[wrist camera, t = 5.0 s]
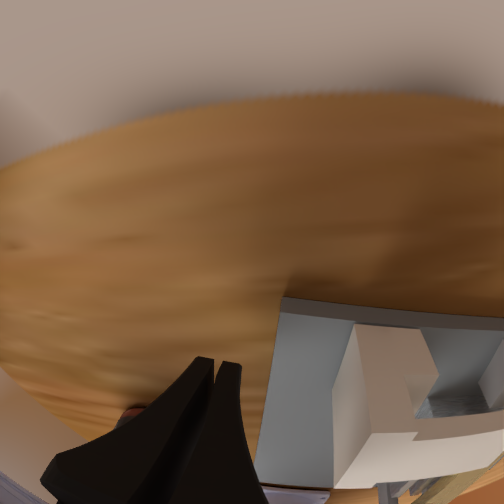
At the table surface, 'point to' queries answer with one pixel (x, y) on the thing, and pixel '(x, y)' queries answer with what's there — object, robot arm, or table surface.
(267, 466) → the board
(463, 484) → the strap
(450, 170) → the table surface
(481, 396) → the heatsink
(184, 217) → the table surface
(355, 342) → the white l-shaped block
